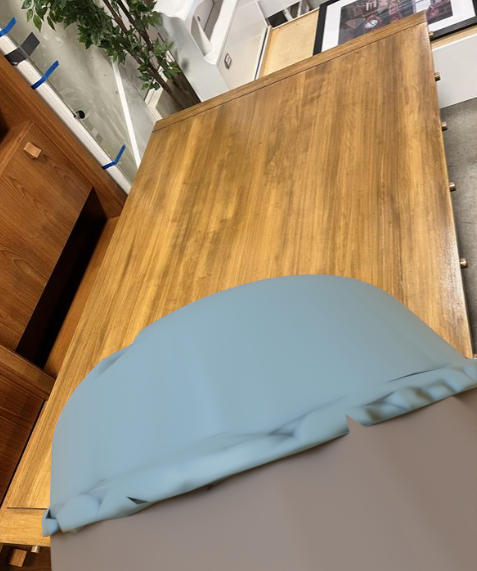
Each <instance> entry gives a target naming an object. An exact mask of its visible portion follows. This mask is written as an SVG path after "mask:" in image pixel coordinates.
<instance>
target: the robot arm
mask: <svg viewBox="0 0 477 571" xmlns="http://www.w3.org/2000/svg"><path fill="white" fill-rule="evenodd" d="M58 416H59V417H58V419H57V420H56V424H55V428H54V431H53V436H52V440H51V456H50V457H51V459H50V483H49V484H50V485H49V505H48V508H47V509H46V510H45V511H44V512H43V513H42V515H41V522H40V523H41V534H42V538H48V537H49V543H50V544H49V545H50V563H51V566H50V567H51V571H477V358H469V357H467V356H464V355H463V354H462V353H461V352H460V351H459V350H457V349H456V348H455V347H454V346H453V345H452V344H451V343H449V342H448V341H447V340H445V338H444V337H443V336H441V335H440V334H439V333H438V332H437V331H435V330H434V329H433V328H432V327H431V326H430V325H429V324H427V323H426V322H425V321H424V320H423V319H421V318H420V317H419V316H418V315H417V314H415V313H414V312H413V311H412V310H411V309H409V307H408V306H406V305H405V303H403V302H402V301H400V300H399V299H398V298H397V297H396V296H394V295H392V294H391V293H390V292H388V291H386V290H385V289H382V288H380V287H379V286H377V285H375V284H372V283H370V282H367V281H364V280H361V279H358V278H353V277H349V276H343V275H337V274H326V273H306V274H305V273H304V274H291V275H289V274H288V275H282V276H274V277H269V278H264V279H259V280H254V281H251V282H246V283H242V284H239V285H235V286H232V287H229V288H226V289H222V290H221V291H220V290H219V291H217V292H214V293H212V294H208V295H205V296H204V297H202V298H199V299H196V300H193V301H192V302H189V303H187V304H185V305H184V306H181V307H179V308H177V309H175V310H173V311H171V312H169V313H167V314H165V315H163V316H161V317H160V318H158V319H156V320H155V321H153V322H151V323H150V324H148V325H146V326H145V327H143V328H142V329H141V330H139V332H138V333H137V334H136V336H135V337H134V339H133V341H132V342H131V343H129V345H127V346H125V347H123V348H121V349H119V350H117V351H114V352H112V353H111V354H110V355H109V356H108V355H107V356H105V357H104V358H102V359H101V360H99V362H98V363H96V365H95V366H94V367H93V368H91V370H90V371H89V372H88V373H87V374H86V376H84V378H83V379H82V380H81V381H80V382H79V384H78V385H77V386H76V387H75V389H74V390H73V391H72V392H71V394H70V396H69V398H68V399H67V401H66V403H65V404H64V406H63V407H62V410H61V411H60V414H59V415H58Z"/></svg>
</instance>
